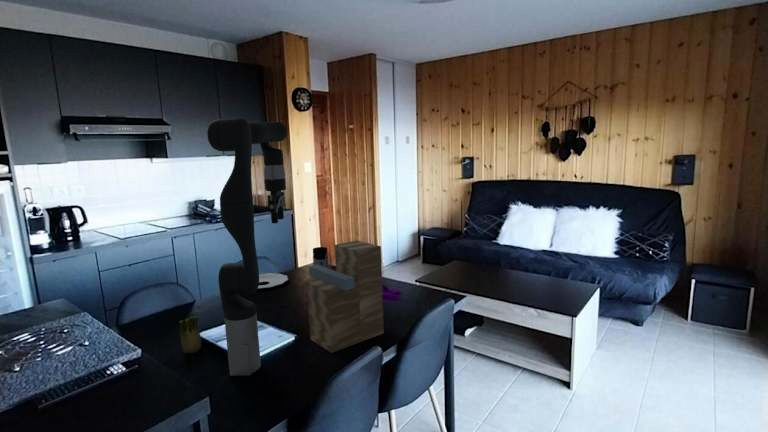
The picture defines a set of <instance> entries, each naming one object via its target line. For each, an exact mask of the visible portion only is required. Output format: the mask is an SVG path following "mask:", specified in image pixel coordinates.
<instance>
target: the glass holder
mask: <svg viewBox="0 0 768 432" xmlns="http://www.w3.org/2000/svg"><path fill="white" fill-rule="evenodd" d="M312 264H313V265H320V266H323V267H326V268H328V269H331V264H332V256H331V254H330V253H328V247H325V246H318V247H313V248H312ZM313 265H312V266H313Z"/></svg>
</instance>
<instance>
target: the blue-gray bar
mask: <svg viewBox="0 0 768 432" xmlns="http://www.w3.org/2000/svg"><path fill="white" fill-rule="evenodd" d="M308 275H309V277H311V278H313V279H315V280H316V279H318V280H321V281H323V282H326V283H328V284H331V285H333V286H335V287H338V288H340V289H343V290H345V291H346V290H349V289H353V288H354V278H353V277H350V276H348V275H345V274H342V273H339V272H337V271H336V270H333V269H331V268H329V269H328V268H326V267H323V266H320V265H310V266H308Z"/></svg>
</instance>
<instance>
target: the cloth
mask: <svg viewBox="0 0 768 432" xmlns="http://www.w3.org/2000/svg"><path fill="white" fill-rule="evenodd" d="M382 294H383V303H391V302H392V301H394V300H397V301H398V300H400V299H403V297H402V296H400V294H401V292H400V290H398V289H396V288H392V289H391V288H389V287H388V286H386V285H385V284H383V283H382Z"/></svg>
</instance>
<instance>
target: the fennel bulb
mask: <svg viewBox="0 0 768 432" xmlns="http://www.w3.org/2000/svg"><path fill="white" fill-rule="evenodd" d="M198 322H199V321H198V316H189V317H188V318H186V319H185V320H180V321H179V322H178V323H179V331H180V333H179V334H180V346H181V349H182V351H183V352H184V354H195V353H197V352H199V351H200V349H201V347H202V338H201V337H202V336H201V334H200V329H199V323H198Z"/></svg>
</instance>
